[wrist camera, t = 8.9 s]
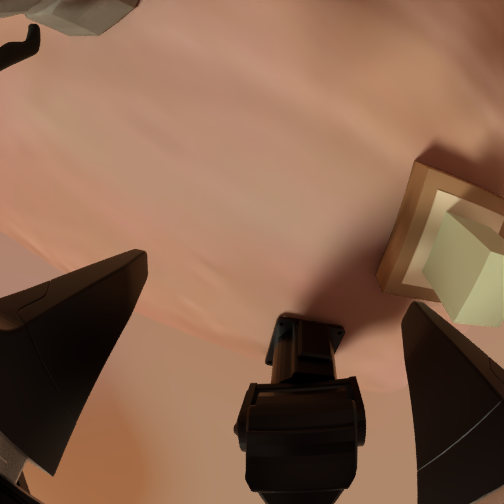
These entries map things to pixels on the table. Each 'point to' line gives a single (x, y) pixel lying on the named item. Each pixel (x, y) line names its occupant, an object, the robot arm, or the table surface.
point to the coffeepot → (59, 21)
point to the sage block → (468, 271)
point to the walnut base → (430, 227)
